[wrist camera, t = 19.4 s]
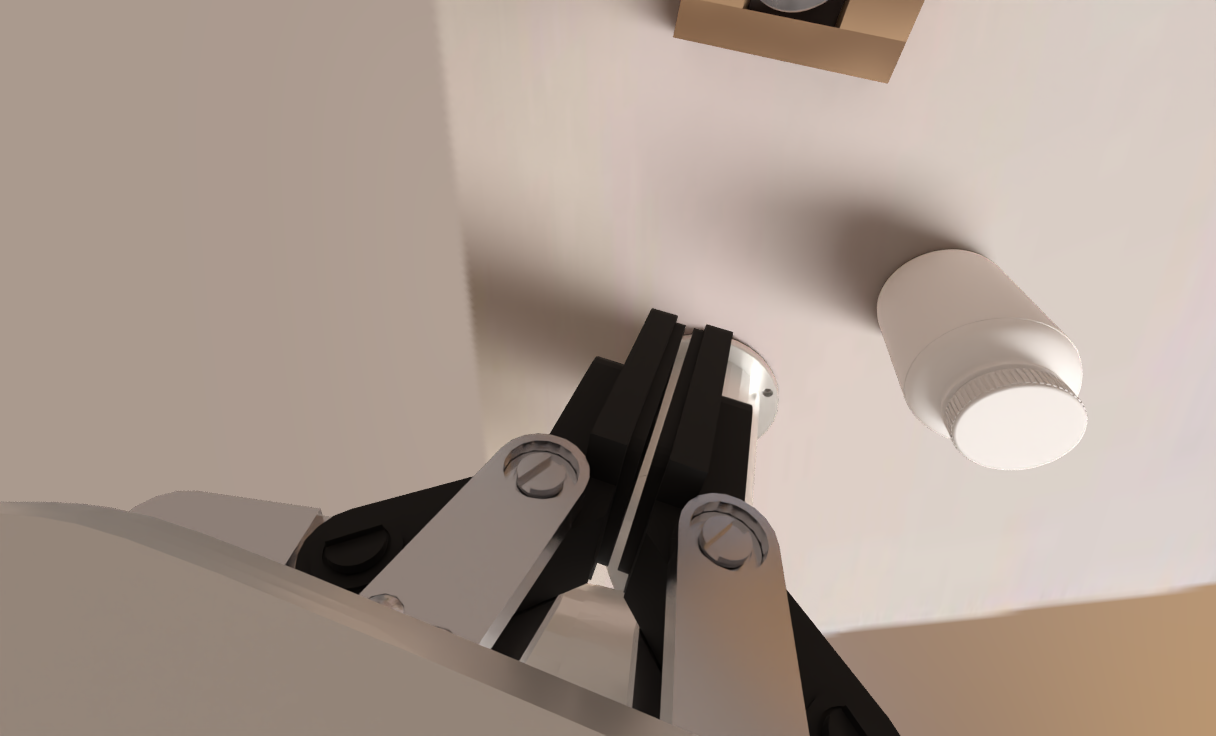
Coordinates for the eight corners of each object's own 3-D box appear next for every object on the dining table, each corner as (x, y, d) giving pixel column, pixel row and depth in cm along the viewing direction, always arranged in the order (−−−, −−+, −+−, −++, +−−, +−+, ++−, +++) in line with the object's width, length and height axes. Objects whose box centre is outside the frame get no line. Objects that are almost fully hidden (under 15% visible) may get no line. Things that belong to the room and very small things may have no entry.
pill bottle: (1034, 293, 34) (1172, 435, 22) (926, 365, 38) (990, 514, 26) (949, 220, 33) (1044, 326, 21) (850, 303, 37) (880, 428, 25)
